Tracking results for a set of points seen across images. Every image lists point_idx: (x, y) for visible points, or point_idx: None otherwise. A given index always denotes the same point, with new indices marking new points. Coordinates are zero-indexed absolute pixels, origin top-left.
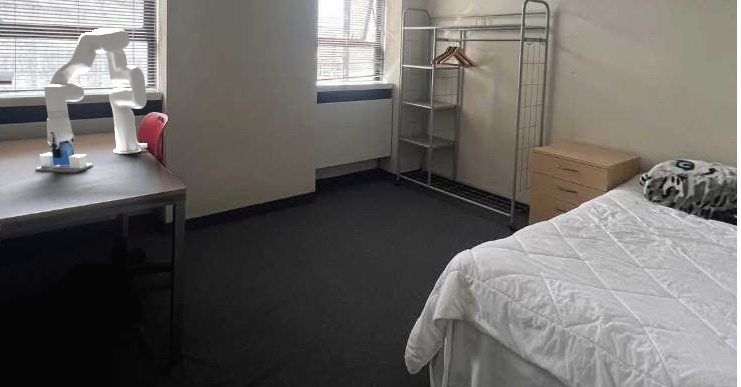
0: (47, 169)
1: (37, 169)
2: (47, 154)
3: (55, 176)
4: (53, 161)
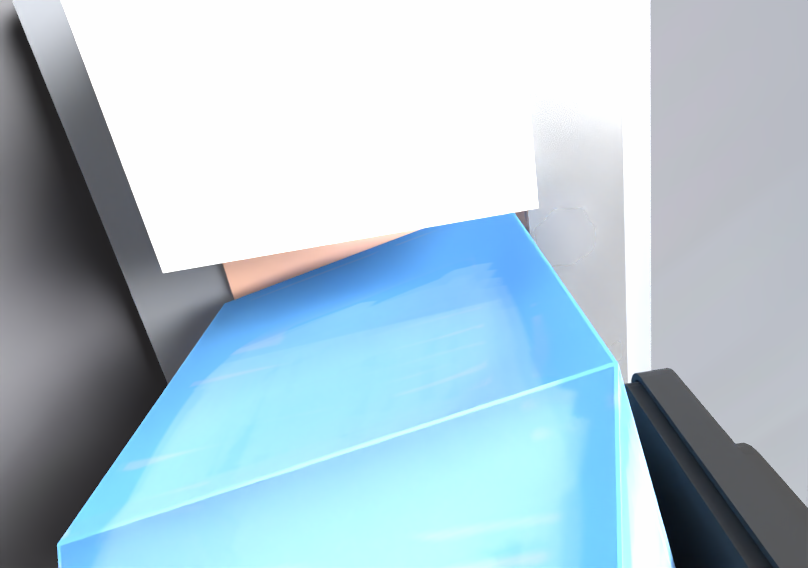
0: (123, 250)
1: (41, 39)
2: (245, 69)
3: (11, 554)
4: (204, 344)
